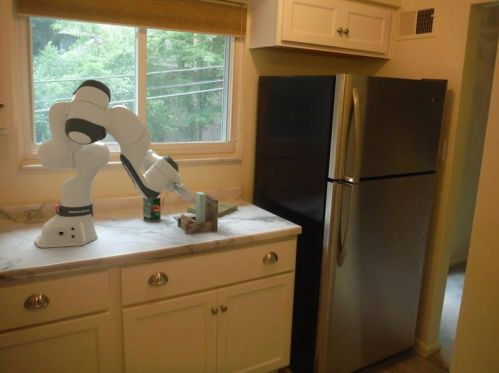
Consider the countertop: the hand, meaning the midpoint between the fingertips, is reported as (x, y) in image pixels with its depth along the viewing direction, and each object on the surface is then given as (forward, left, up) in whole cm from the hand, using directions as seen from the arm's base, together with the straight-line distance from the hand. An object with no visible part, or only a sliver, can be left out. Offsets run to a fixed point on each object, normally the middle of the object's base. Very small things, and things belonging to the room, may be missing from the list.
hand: (193, 201), depth 187 cm
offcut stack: (-2, +1, -12) cm, 13 cm away
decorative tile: (+20, +27, -13) cm, 36 cm away
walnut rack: (+2, +1, -12) cm, 13 cm away
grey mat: (+4, +15, -12) cm, 20 cm away
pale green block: (+4, +1, -12) cm, 13 cm away
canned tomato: (-12, +22, -13) cm, 28 cm away
